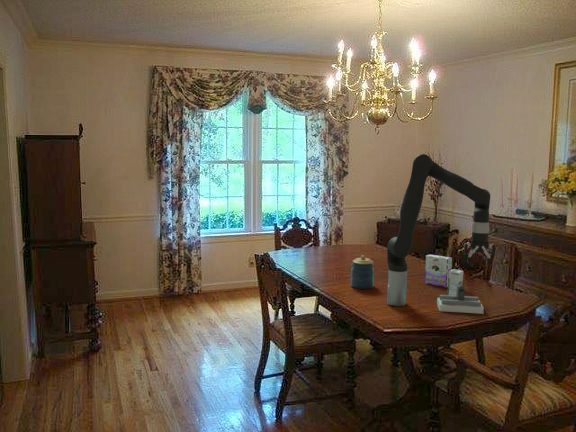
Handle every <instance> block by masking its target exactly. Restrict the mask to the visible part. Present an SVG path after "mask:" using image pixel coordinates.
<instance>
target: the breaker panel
mask: <svg viewBox="0 0 576 432" xmlns="http://www.w3.org/2000/svg"><path fill="white" fill-rule="evenodd" d="M436 306H437V309H438V310H439V311H440V312H449V313H464V314H465V313H466V314H467V313H468V314H479V315H481V314H482V315H484V309H485V308H484V306H483V304H482V301H480V300H479V296H471V295H470V296H469V295H464V300H456V296H454V295H447V294H439V297H437V299H436Z"/></svg>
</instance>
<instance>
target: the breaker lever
mask: <svg viewBox="0 0 576 432" xmlns="http://www.w3.org/2000/svg"><path fill="white" fill-rule="evenodd" d="M465 291H466V290H465V287H464V286H463V285H461V284H459V285H458V286H457V290H456V300H464V296H465Z"/></svg>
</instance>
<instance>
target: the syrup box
mask: <svg viewBox="0 0 576 432" xmlns="http://www.w3.org/2000/svg"><path fill="white" fill-rule="evenodd" d="M463 283H464V270H461V269H457V268H456V269H453V268H452V269H451V271H449V276H448V287H447V289H446V290H447V291H446V295H454V296H456V290H457V286H458V285H459V284H461V285H462V286H463Z"/></svg>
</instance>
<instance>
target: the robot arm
mask: <svg viewBox="0 0 576 432" xmlns="http://www.w3.org/2000/svg"><path fill="white" fill-rule="evenodd" d="M428 177H431V178H432V179H435V180H437V181H439V182H440V183H442V184H443V185H446V186H447V187H448V188H450V189H452V190H454V191H455V192H457V193H459V194H460V195H463V196H465V197H467V198H469V199H470V200H471V201H472V202H474V211H473V217H472V218H473V219H472V225H471V240H470V243H469V242H464V243H463V255H464V256H465V257H467V260H466V261H467V264H468V265H469V266H471V265H472V256H473V254H475V253H477V254H478V253H480V254H482V253H484V254H485V255H486V257H485V258H486V259H485V260H486V261H485V266H486V267H489V266H490V264H491V258H494V257H495V254H496V245H495V244H494V243H490V244H489V237H490V236H489V235H490V223H489V222H490V205H491V204H490V203H491V192H490V191H489V190H487V189H485V188H481V187H480V186H477V185H475V184H474V183H473V182H472V181H470V180H468V179H466V178H464V177H463V176H460V175H458V174H457V173H454V172H452V171H449V170H447V169H445V167H443V166H441V165H439V164H437V163H436V162H435V161H433V159H432V158H431V157H430V156H429V155H428V154H426V153H421V154H418V155H416V156H415V158H414V159H413V162H412V168H411V173H410V178H409V182H408V185H407V187H406V190H405V193H404V195H403V199H402V202H401V206H400V210H399V231H398V234H397V236H394V237H391V239H390V240H388V242H387V246H386V247H387V249H386V251H387V254H386V255H387V256H386V260H387V261H386V262H387V265H388V267H387V268H388V275H387V293H386V295H387V296H386V304H387V305H389V306H394V307H403V306H406V304H407V290H408V289H407V288H408V287H407V286H408V285H407V284H408V264H407V261H406V257H407V256H409V254H410V252H411V250H412V245H413V239H414V234H415V228H416V226H417V224H418V223H417V222H418V219H419V215H420V212H421V208H422V205H423V202H424V201H423V200H424V195H425V193H424V192H425V185H426V182H427V178H428ZM469 248H471V249H470V251H469V252H468V249H469ZM488 248H490V253H489V252H488V251H487V249H488Z"/></svg>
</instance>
